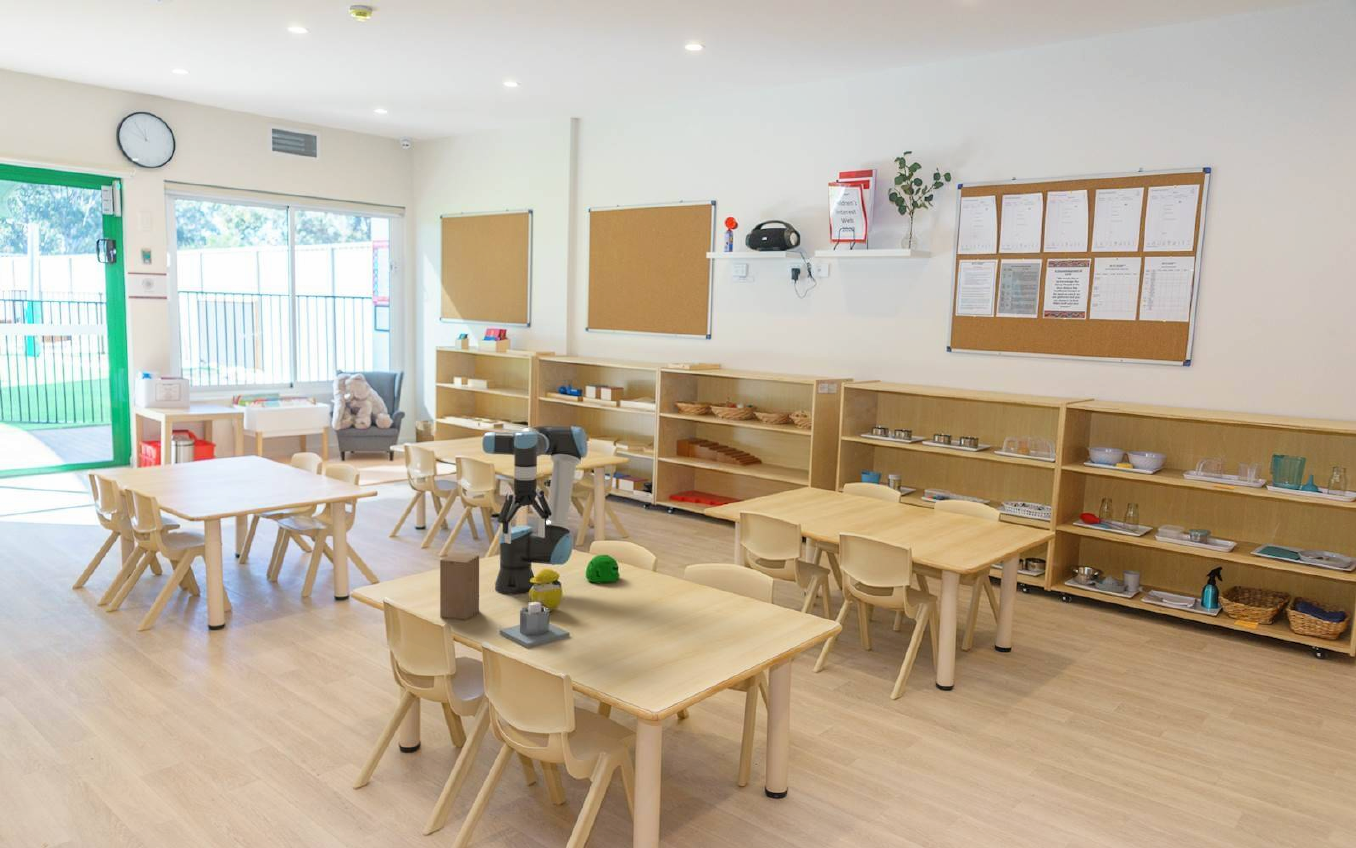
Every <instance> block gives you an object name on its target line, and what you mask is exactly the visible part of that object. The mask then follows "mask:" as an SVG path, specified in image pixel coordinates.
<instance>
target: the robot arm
mask: <svg viewBox="0 0 1356 848" xmlns="http://www.w3.org/2000/svg"><path fill="white" fill-rule="evenodd" d="M481 442H482V444H481V445H482V450H483V452H484V453H485V454H489V455H490V454H491V455H505V456H506V455H508V456H509V455H510V456H511V455H512V456H514V459H513V461H514V466H513V467H514V468H513V469H514V470H513V472H514V473H513V477H514V479H513V489H514V493H513V494H511V493H506V494H505V501H504V503H503V505H502V508H501V510H500V513H499V515H498V518H497V523H500V524H502V531H501V533H500V541H499V571H498V573H497V577H496V579H495V583H494V590H495V591H496V592H498V593H502V594H506V595H507V594H508V595H519V594H520V595H521V594H526V593H528V594H529V591H530V589H531V588H532V586H533V585H534V584H535V583H532V582H530V580H531V578H534V577H535V575H534V574H535V573H534V572H533V569H532V564H542V565H552V566H556V565H557V566H559V565H561V566H562V565H565V564H566V563H567V562H568V561H569V560H570V557H571V555H572V552H573V548H574V536H573V535H572V533H570V532H571V530H570V528H569V527H568V519H569V512H570V506H571V501H572V500H571V499H572V495H573V487H574V482H575V481H574V480H575V474H576V468H577V466H578V465H579V464H581V461H582V459H583V458H586V457H587V455H588V438H587V433H586V431H585V429H584V428H582V427H579V426H573V425H571V426H564V425H549V424H548V425H546V424H545V425H537V426H531V427H527V428H523V429H522V430H519V431H518V430H516V431H508V432H507V431H506V432H504V431H503V432H494V431H491V432H489V431H488V432H485V434H484V435H483V437H482V441H481ZM542 455H543V456H550V460H551V461H552V462H553V466H552V471H551V477H550V484H549V489H548V490H549V491H548V497H547V499H546V497H545V492H544V490H542V489H537V486H538V485H537V484H538V482H537V481H538V480H537V476H538V457H540V456H542ZM536 498H537V499H538V501H539V503H540V505H539V503H538V501H537V500H536ZM526 506H532V507H533V509H534V510H535V511H536V513H537V514H538V515H539V516H540V517H538V518H537V519H538V520H537V523H538V525H537V526H538V529H537V530H538V531H533V528H532V526H530V525H518V526H517V525H516V526H512V524H511V523H510V522H511V521H512V519H513V518H514V516H515V515H516V513H518V510H519V509H521V508H522V507H526Z"/></svg>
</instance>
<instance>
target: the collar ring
mask: <svg viewBox="0 0 1356 848" xmlns="http://www.w3.org/2000/svg"><path fill="white" fill-rule="evenodd" d="M528 611H529V605H528V606H524V607H522V608H521V609H520V611H519V625H520V633H522V634H524V635H526V636H540V635H543V634H547V633H548V631H549V623H550V611H549V608H547V607H544V606H541V612H540V613H528Z"/></svg>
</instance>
